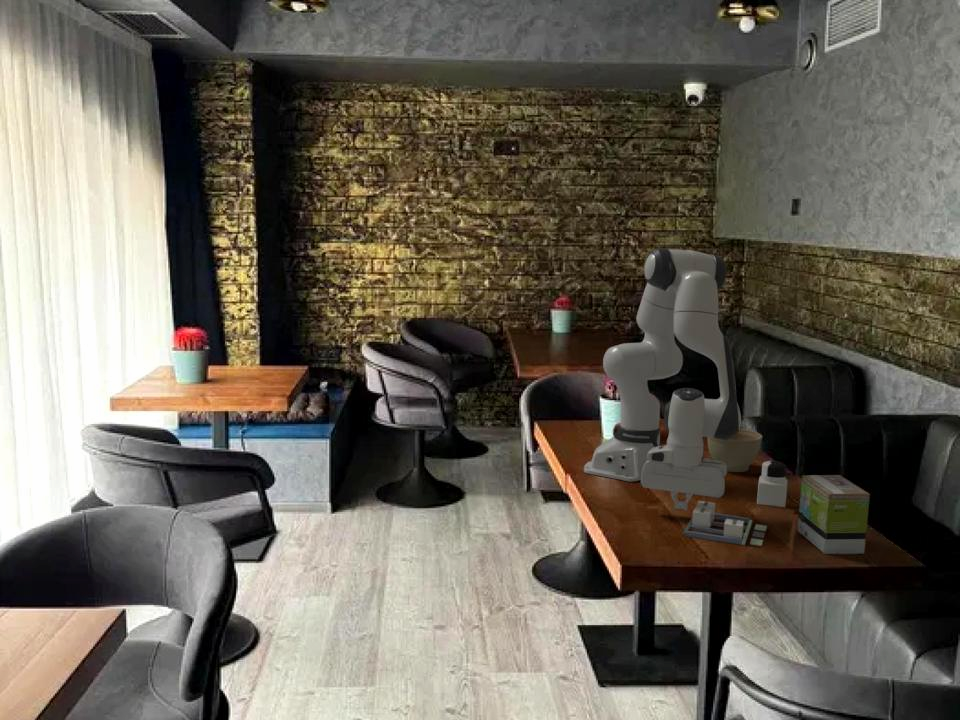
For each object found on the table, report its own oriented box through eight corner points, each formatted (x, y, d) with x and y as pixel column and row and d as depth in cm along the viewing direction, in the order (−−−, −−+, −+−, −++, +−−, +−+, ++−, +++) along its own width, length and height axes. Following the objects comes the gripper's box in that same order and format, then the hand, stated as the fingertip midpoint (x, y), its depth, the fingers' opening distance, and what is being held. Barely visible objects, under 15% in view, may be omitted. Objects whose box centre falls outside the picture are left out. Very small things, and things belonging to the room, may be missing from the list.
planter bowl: (699, 460, 288) (702, 426, 286) (751, 462, 288) (754, 428, 286) (710, 474, 272) (713, 439, 270) (765, 477, 272) (768, 441, 270)
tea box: (795, 532, 224) (800, 473, 222) (835, 532, 225) (840, 473, 222) (823, 554, 209) (829, 492, 207) (865, 554, 210) (872, 492, 208)
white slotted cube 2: (691, 527, 221) (692, 511, 220) (694, 522, 224) (695, 506, 224) (708, 530, 219) (709, 513, 218) (711, 525, 223) (712, 508, 222)
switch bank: (662, 538, 216) (663, 528, 216) (676, 516, 233) (676, 507, 232) (764, 554, 208) (765, 544, 208) (770, 530, 225) (771, 520, 224)
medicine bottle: (785, 504, 246) (789, 460, 244) (784, 512, 239) (788, 467, 237) (757, 500, 248) (761, 457, 246) (756, 508, 241) (759, 464, 239)
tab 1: (695, 521, 226) (696, 504, 225) (697, 516, 229) (698, 500, 229) (711, 523, 224) (713, 507, 223) (714, 518, 228) (715, 502, 227)
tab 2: (723, 540, 213) (724, 523, 212) (725, 534, 216) (726, 517, 216) (740, 543, 211) (742, 525, 210) (742, 537, 215) (744, 520, 214)
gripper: (729, 457, 225) (725, 511, 228) (646, 447, 233) (643, 499, 235) (725, 463, 220) (721, 519, 222) (641, 452, 227) (637, 506, 229)
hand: (680, 509), depth 228 cm, fingers closed
